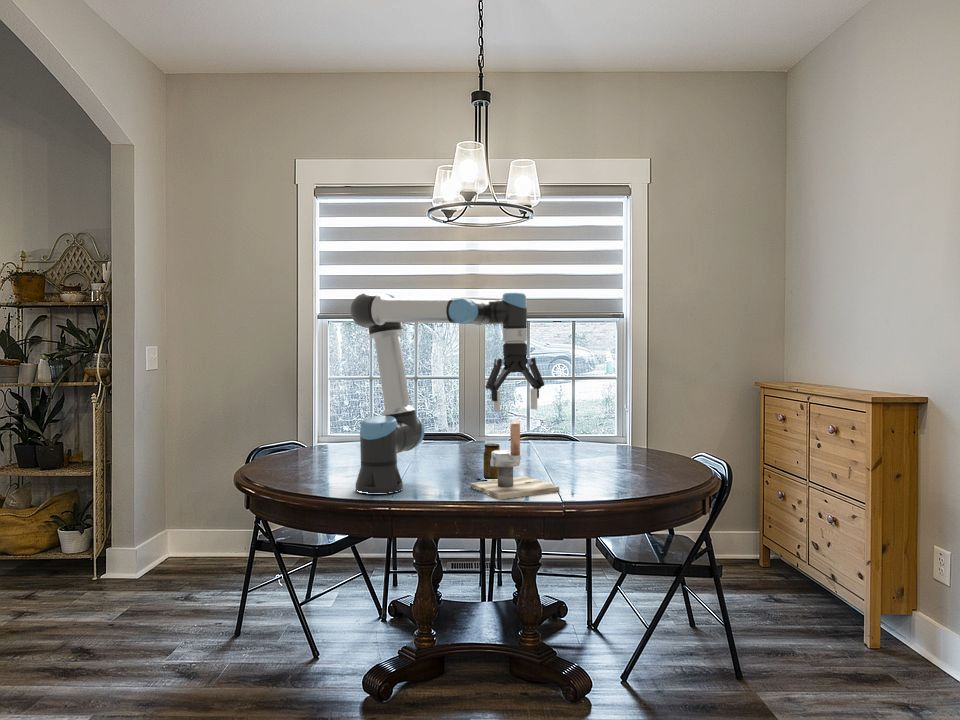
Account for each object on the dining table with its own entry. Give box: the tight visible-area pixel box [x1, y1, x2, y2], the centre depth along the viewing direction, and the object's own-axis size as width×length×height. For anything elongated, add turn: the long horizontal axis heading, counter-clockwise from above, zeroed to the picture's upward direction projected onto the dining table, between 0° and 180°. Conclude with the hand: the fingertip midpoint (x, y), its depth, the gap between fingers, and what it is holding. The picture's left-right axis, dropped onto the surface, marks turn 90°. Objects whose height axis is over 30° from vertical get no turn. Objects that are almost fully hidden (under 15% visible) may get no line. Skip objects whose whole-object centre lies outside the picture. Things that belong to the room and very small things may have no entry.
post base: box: [469, 467, 560, 501], centre depth 220 cm, size 19×22×8 cm
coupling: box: [490, 422, 522, 468], centre depth 218 cm, size 12×10×14 cm
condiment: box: [482, 443, 501, 479], centre depth 237 cm, size 7×8×12 cm
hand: (515, 410), depth 213 cm, fingers open, 13 cm apart
